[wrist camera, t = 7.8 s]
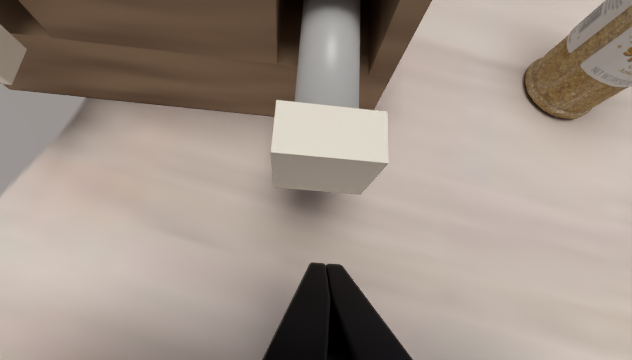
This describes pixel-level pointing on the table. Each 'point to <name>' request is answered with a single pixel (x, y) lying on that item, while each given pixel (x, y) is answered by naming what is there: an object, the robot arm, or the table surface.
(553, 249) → the table surface
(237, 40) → the button box
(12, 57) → the button
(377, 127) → the button
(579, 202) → the table surface
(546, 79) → the sprinkles bottle
